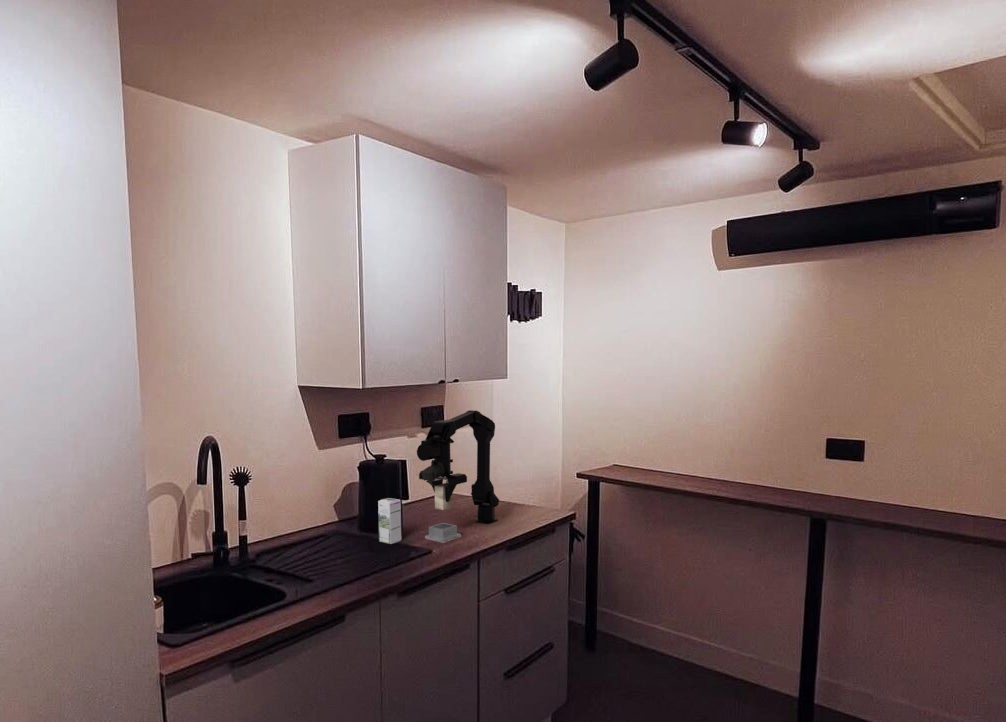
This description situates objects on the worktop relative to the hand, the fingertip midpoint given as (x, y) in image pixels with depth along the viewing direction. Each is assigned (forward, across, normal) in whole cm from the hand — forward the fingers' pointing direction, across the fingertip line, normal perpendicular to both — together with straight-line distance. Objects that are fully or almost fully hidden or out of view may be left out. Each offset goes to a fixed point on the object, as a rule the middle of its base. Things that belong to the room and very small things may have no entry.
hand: (442, 501), depth 215 cm
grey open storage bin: (+13, 0, 0) cm, 13 cm away
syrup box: (+13, -12, -14) cm, 23 cm away
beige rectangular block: (+2, 0, 0) cm, 2 cm away
